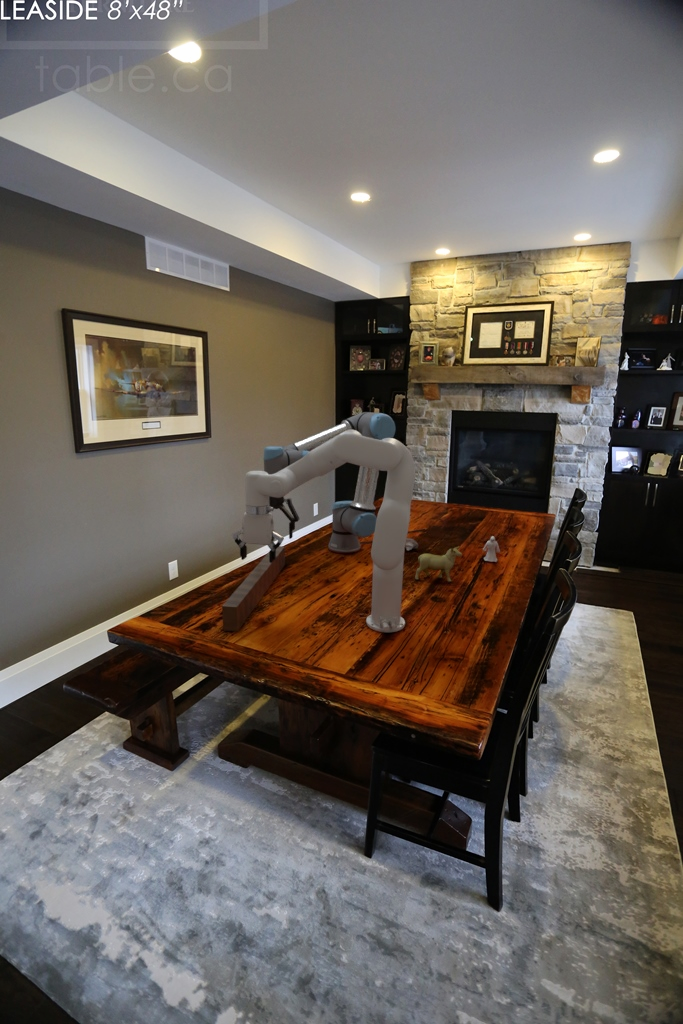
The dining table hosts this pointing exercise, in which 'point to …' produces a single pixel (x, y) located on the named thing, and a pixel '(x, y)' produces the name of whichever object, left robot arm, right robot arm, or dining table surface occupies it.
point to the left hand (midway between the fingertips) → (274, 536)
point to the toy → (438, 563)
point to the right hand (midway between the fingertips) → (257, 559)
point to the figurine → (491, 550)
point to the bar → (251, 591)
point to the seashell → (411, 544)
